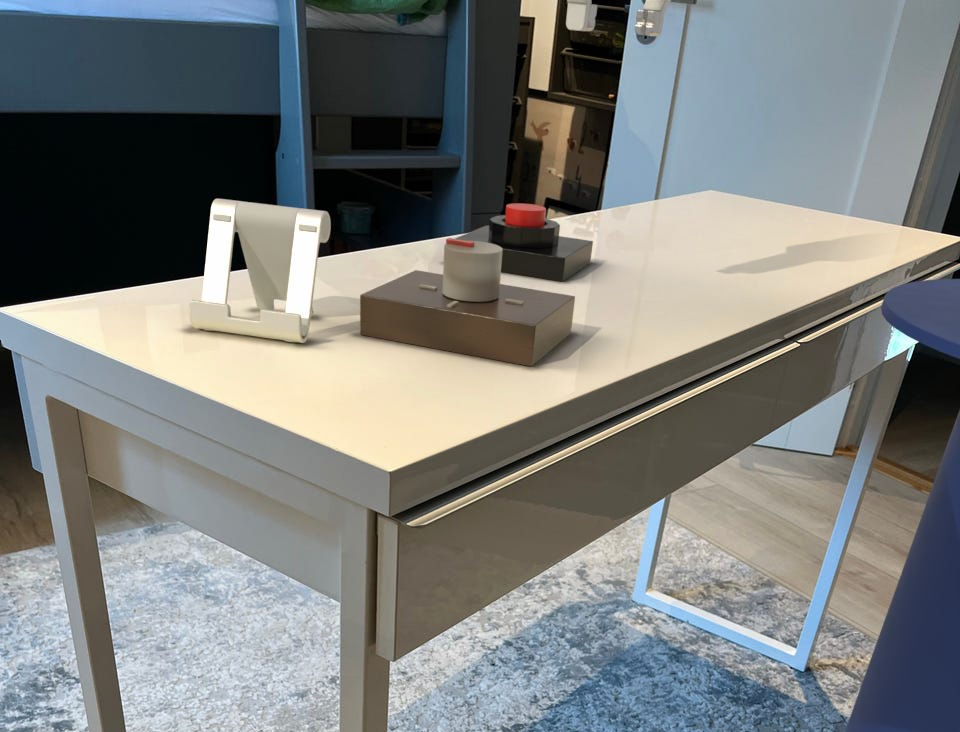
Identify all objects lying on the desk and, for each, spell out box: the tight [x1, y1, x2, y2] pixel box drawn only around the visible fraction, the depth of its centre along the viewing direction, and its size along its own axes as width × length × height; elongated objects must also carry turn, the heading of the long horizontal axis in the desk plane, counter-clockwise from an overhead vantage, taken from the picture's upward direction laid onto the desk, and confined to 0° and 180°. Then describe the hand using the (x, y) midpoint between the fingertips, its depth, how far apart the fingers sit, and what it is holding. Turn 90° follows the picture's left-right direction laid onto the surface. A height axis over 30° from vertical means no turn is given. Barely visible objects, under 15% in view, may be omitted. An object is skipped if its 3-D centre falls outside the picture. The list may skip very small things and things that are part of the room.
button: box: [504, 202, 547, 226], centre depth 96 cm, size 4×4×2 cm
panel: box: [359, 269, 576, 367], centre depth 75 cm, size 14×10×3 cm
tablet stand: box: [188, 198, 332, 344], centre depth 71 cm, size 9×8×8 cm
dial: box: [442, 237, 503, 302], centre depth 73 cm, size 4×4×4 cm
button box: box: [454, 214, 594, 282], centre depth 97 cm, size 12×10×4 cm
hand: (614, 33), depth 77 cm, fingers open, 8 cm apart
